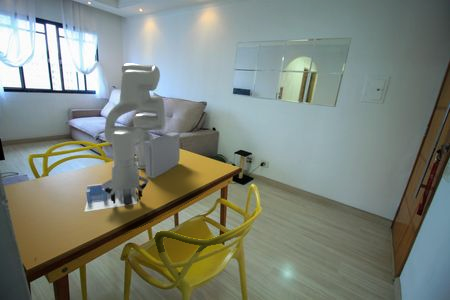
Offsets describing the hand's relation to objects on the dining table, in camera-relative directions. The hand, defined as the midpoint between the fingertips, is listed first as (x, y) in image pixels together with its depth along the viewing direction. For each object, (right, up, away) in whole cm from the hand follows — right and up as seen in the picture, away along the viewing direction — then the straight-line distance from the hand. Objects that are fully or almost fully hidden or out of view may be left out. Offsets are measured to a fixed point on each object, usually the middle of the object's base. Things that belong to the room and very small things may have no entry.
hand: (127, 200), depth 90 cm
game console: (+4, +9, +38) cm, 39 cm away
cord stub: (-2, 0, +4) cm, 4 cm away
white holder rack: (-8, 0, +4) cm, 9 cm away
